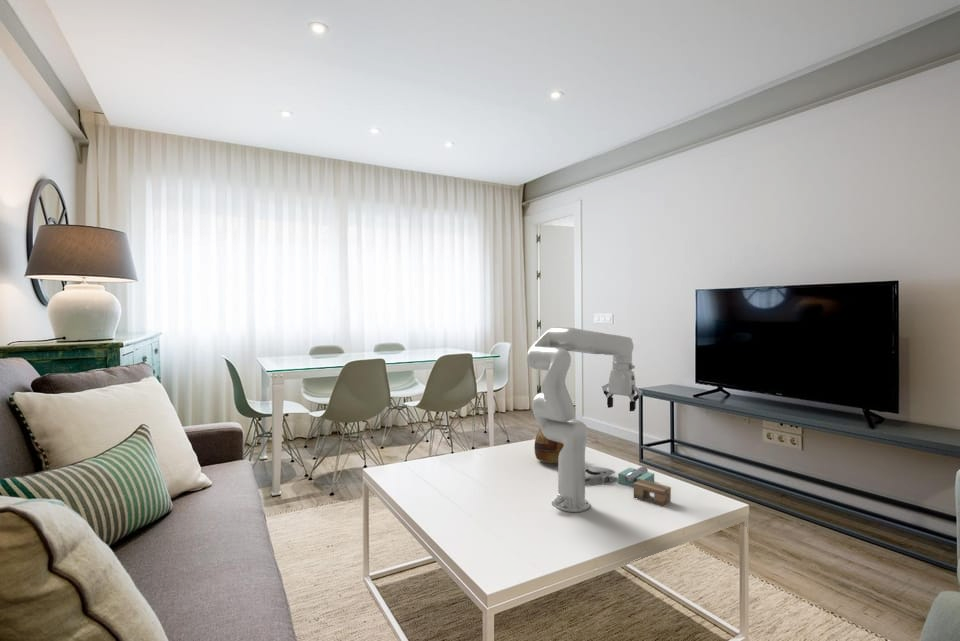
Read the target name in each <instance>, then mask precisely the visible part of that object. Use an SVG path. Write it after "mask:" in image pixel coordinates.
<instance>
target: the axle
mask: <svg viewBox="0 0 960 641" xmlns="http://www.w3.org/2000/svg"><path fill="white" fill-rule="evenodd" d="M647 472H649V471H648V468H647V467H646V466H643V465H642V466H640V467H639V468H637V469H636V470H635V471H633V472H631V473H629V474H627V475H626V476H625V480H626V482H628V483H631V482H633V481H634V480H636V479H637V478H638V477H640V476H642V475H643V474H645V473H647Z"/></svg>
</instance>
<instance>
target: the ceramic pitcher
mask: <svg viewBox="0 0 960 641" xmlns="http://www.w3.org/2000/svg"><path fill="white" fill-rule="evenodd" d="M563 446H564V444H562V443H559V442H556V441H552V440H549V439H547V438H546V437H545V436H544V435H543V433H542V431H541V429H540V428H539V429H538V431H537V433H536V436H535V440H534V455H535V458H536V459H537V460H539V461H540V462H544V463H551V464H558V457H559V453H560V451H561V450H562V448H563Z"/></svg>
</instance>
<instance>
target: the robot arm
mask: <svg viewBox="0 0 960 641" xmlns="http://www.w3.org/2000/svg"><path fill="white" fill-rule="evenodd" d="M633 351H634V343H633V339H632V338H631V337H630V336H623V335H617V334H610V333H605V332H599V331H591V330H586V329H581V328H577V327H576V328H575V327H559V326H557V327H555V326H554V327H551V328H548V330H546V331H545V332H544V333H543V334H542V335H541V336H540V337H539V338H538V339H537V340H536V341H535V342H534V343H533V344H532V346H531V347H530V348H529V349H528V351H527V354H526V361H527V362H526V363H527V364H528V366H529V367H530V368H532V369H534V370H537V371H538V370H539V371H547V372H546V374H545V376H544V378H543V380H542V382H541V386H540V388H541V392H540V393H537V394H536V395H535V396H534V398H533V400H532V407H531V408H532V412H533V415H534V418H535V420H536V423H537V424H538V427H539V429H541V431H542V433H543V435H544V436H545V437H546V438H547V439H549V440H552V441H556V442H559V443H562V444H564V446H563V448H562V450H561V451H560V453H559V457H558V463H557V464H558V466H557V467H558V473H557V474H558V476H557V479H558V480H557V482H558V483H557V484H558V485H557V486H558V490H557V492H558V493H557V495H556V496H557V497H555V499H554V500H553V501H552V502H551V505H552V507H554V508H555V507H556V508H557V509H559V510H560V511H563V512H569V513H570V512H571V513H580V512H584V511H585V512H586V511H587V510H588V509H589V508H590V502H589V500H588V499H586V485H585V470H586V448H587V447H586V446H587V441H588V436H589V430H588V427H587V425H586V423H584V422H583V421H581V420H579V419H576V418H574V417H575V414H576V412H575V411H576V410H575V407H574V404H573V401H572V398H571V396H570V394H569V391H568V388H567V386H566V379H567V378H566V377H567V374H568V372H569V369H570V366H571V362H572V357H571V354H570V352H576V353H581V354H590V355H591V354H592V355H605V356H612V369H611V370H610V373H609V378H608V383H607V384H604V385H602V386H601V389H602V391H603V394H604V395H605V398H607V402H606V403H607V404H606V405H607V408H608V409H611V408H613V407H614V397H613V396H614V395H618V396H624V397H628V398H629V400H630V401H629V412H635V410H636V408H637V407H636V405H637V404H636V402H637V401H638V400H639V399H640V398H641V395H642V393H643V390H641V389H640V388H638V387H637V385H636V377H635V371H633V369H635V365H634V364H633Z"/></svg>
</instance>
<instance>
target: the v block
mask: <svg viewBox="0 0 960 641" xmlns="http://www.w3.org/2000/svg"><path fill="white" fill-rule="evenodd" d="M635 470H637V469H636V468H634V467H627V468H626V469H624V470H622V471H620V472H618V473H617V477H618V478H617V480H618V481H617V482H618V484H620V483H621V484H620V485H623V484H625V486H627V485H629V486H628V487H631V486H632V487H631V488H634V483H635V482H637V481H639V480H645V481H649V482H653V483H655V473H654V472H650V471H648V472H647V473H645V474H643V475H642V476H640V477H638V478H637V479H636V480H634V481H633V482H631V483H628V482H626V480H625V476H626V475H627V474H629V473H631V472H633V471H635Z"/></svg>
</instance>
